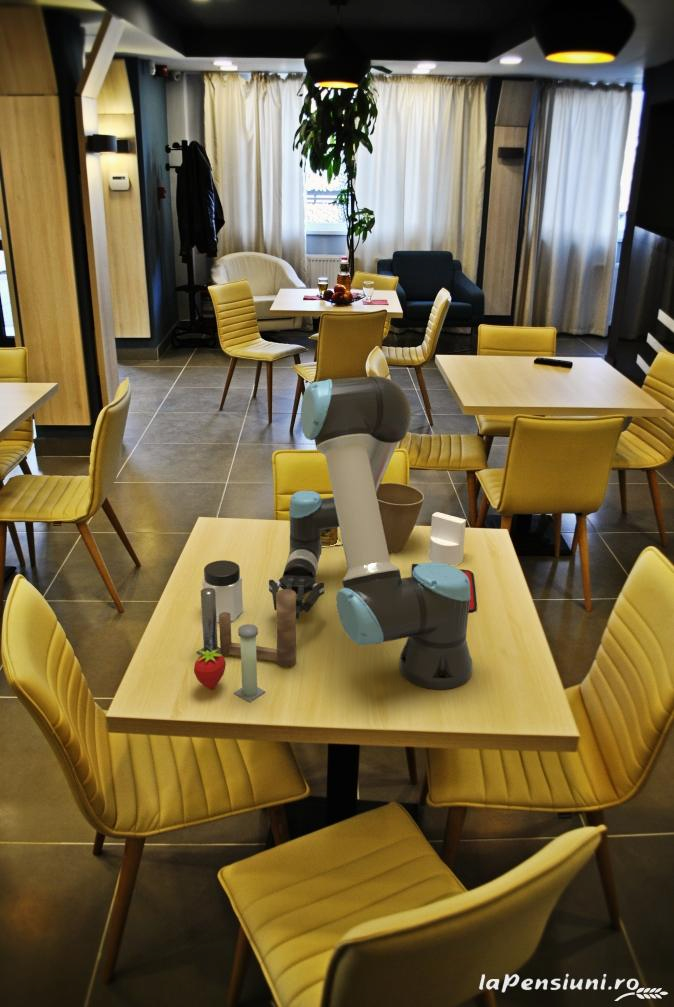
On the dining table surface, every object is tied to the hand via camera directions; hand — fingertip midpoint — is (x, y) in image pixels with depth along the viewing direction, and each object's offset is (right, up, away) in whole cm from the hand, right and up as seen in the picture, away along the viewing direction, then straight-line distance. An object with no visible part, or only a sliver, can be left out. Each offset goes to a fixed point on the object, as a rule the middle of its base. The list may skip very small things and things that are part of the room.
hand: (287, 623), depth 178 cm
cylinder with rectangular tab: (+40, +10, +48) cm, 63 cm away
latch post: (-7, -13, -9) cm, 17 cm away
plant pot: (+25, +13, +53) cm, 60 cm away
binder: (+37, +3, +32) cm, 49 cm away
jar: (-16, -1, +20) cm, 25 cm away
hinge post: (-17, -7, +5) cm, 19 cm away
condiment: (+7, +15, +57) cm, 59 cm away
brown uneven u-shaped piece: (-6, -7, +2) cm, 10 cm away
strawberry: (-15, -12, -7) cm, 21 cm away
